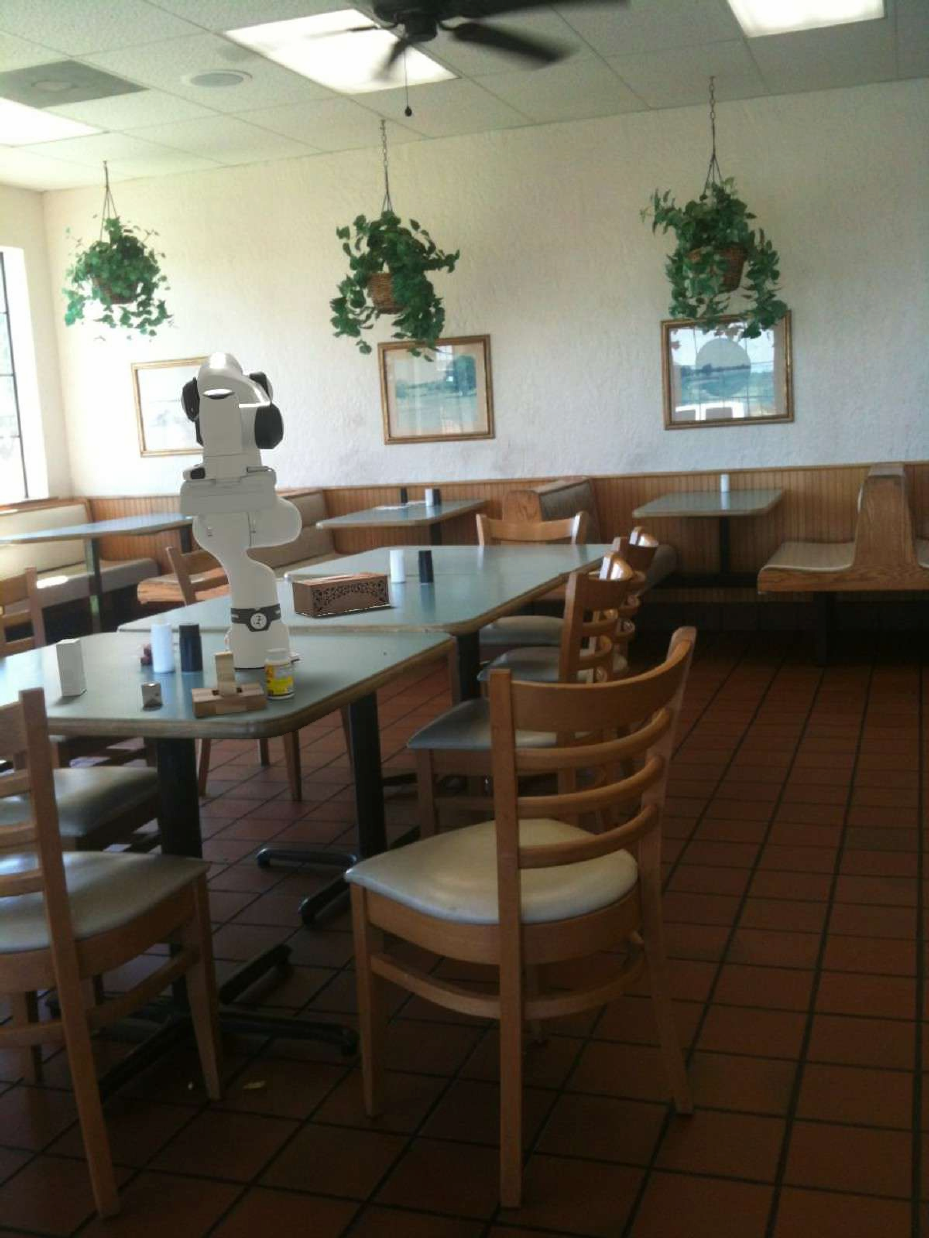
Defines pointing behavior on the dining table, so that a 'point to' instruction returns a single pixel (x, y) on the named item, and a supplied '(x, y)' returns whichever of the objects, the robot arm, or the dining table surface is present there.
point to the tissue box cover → (340, 593)
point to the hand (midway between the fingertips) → (231, 534)
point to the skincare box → (71, 667)
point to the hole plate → (228, 699)
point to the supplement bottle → (278, 674)
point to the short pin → (152, 694)
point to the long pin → (225, 673)
